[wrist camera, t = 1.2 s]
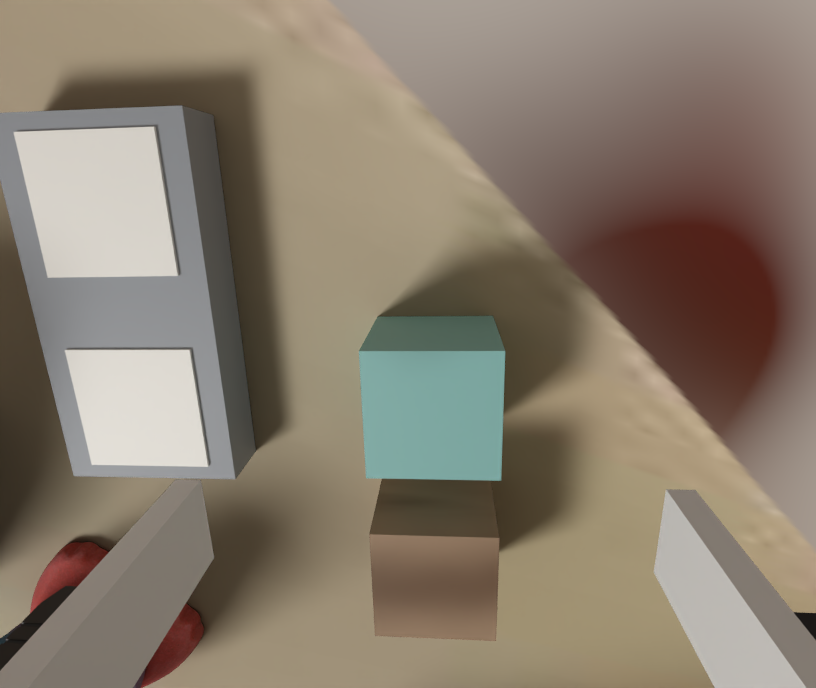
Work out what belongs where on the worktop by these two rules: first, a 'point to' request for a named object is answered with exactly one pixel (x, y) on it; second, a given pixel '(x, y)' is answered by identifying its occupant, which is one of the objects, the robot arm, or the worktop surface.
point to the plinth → (131, 287)
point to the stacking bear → (76, 566)
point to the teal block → (433, 398)
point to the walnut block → (435, 559)
